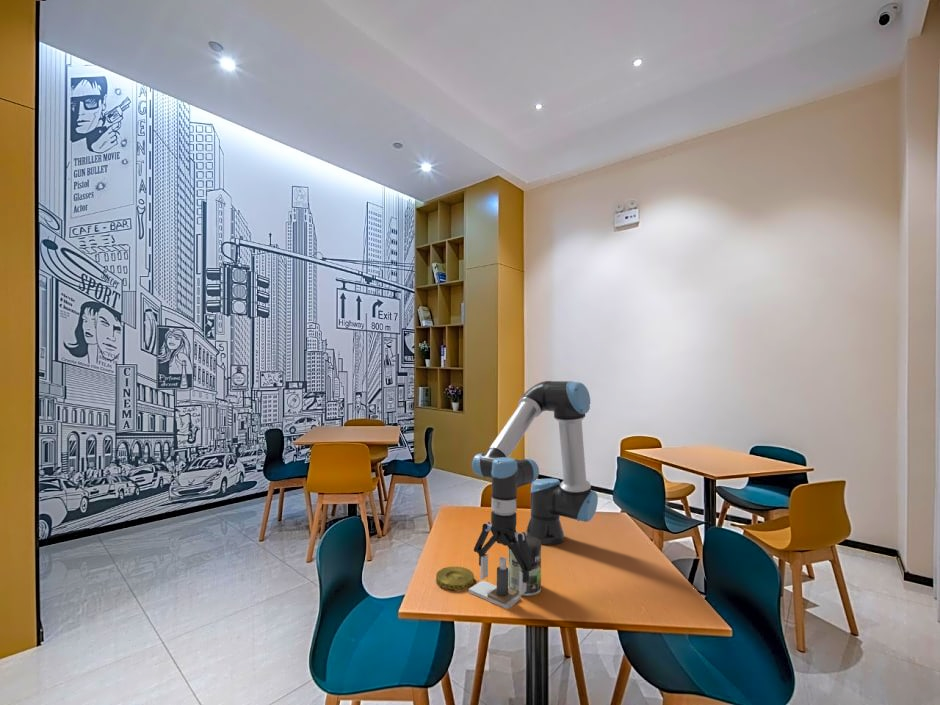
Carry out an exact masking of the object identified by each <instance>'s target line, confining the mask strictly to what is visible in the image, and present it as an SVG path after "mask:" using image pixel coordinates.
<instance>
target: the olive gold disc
mask: <svg viewBox="0 0 940 705" xmlns="http://www.w3.org/2000/svg"><path fill="white" fill-rule="evenodd" d="M435 577H436V578H435V583H436V585H437V586H438V588H444V589H447V590H454V592H462V591H465V590H467V588H470V587H471V586H472V585H473V583H474V581H475V579H474V578H475V574H474V572H473V571H472V570H470V569H469V568H467V567H464V566H463V567H462V566H455V565H454V566H446V567H443V568H441V569H439V570H437V572H436V575H435Z"/></svg>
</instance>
